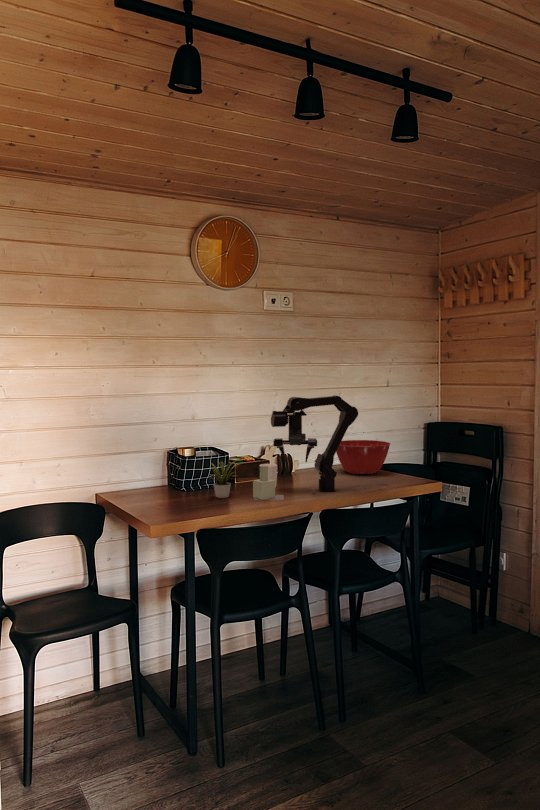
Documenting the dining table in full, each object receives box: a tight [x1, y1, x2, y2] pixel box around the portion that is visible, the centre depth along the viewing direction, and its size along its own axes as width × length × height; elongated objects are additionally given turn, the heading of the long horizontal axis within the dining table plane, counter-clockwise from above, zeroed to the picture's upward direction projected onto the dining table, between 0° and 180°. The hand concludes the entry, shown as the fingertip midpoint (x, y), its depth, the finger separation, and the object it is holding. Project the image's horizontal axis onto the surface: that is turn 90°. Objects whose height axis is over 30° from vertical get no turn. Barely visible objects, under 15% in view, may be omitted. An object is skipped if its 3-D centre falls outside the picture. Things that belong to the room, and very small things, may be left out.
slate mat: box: [253, 494, 285, 501], centre depth 260 cm, size 12×9×1 cm
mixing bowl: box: [335, 439, 391, 475], centre depth 321 cm, size 28×28×15 cm
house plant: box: [208, 461, 241, 499], centre depth 262 cm, size 14×14×16 cm
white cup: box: [259, 463, 278, 488], centre depth 286 cm, size 8×8×10 cm
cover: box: [252, 465, 276, 501], centre depth 259 cm, size 6×6×13 cm
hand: (295, 462), depth 274 cm, fingers open, 9 cm apart
